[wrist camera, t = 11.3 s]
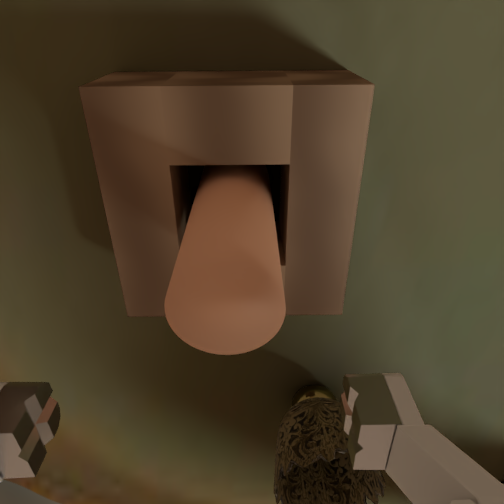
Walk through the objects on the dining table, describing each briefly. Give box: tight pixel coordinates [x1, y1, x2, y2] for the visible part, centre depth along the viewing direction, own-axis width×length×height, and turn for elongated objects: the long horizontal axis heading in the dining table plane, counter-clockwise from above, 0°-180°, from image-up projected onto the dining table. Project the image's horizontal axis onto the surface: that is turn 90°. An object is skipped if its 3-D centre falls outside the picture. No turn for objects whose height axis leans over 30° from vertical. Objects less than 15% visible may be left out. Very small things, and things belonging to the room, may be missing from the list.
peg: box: [164, 165, 286, 355], centre depth 18 cm, size 4×4×12 cm
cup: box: [274, 385, 386, 504], centre depth 30 cm, size 8×7×8 cm
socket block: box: [79, 70, 375, 317], centre depth 21 cm, size 12×12×5 cm
